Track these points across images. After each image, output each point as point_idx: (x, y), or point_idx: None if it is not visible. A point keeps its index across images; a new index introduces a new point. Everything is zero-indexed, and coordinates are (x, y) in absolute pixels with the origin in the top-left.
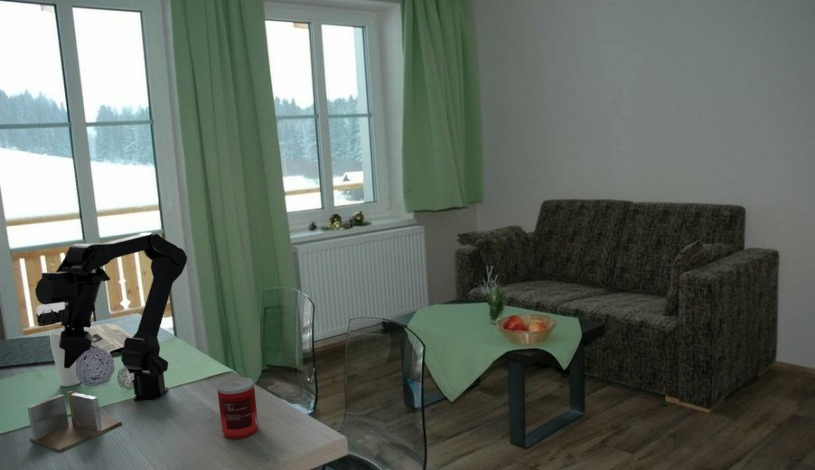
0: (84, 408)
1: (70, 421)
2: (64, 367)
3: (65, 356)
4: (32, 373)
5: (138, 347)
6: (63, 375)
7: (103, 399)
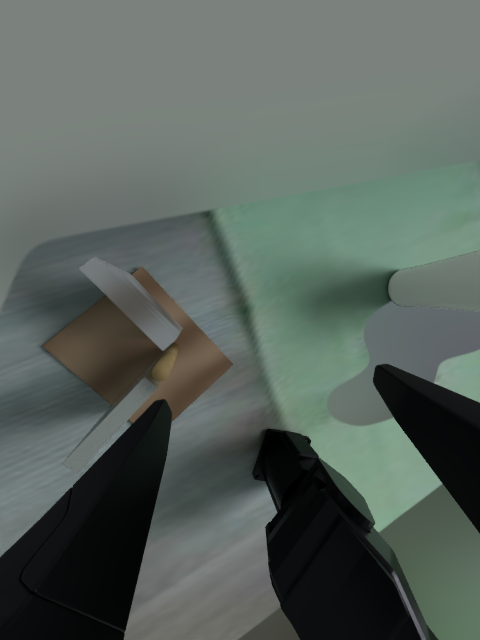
0: (115, 404)
1: (198, 333)
2: (154, 402)
3: (62, 503)
4: (477, 205)
5: (320, 631)
6: (412, 277)
7: (298, 367)
